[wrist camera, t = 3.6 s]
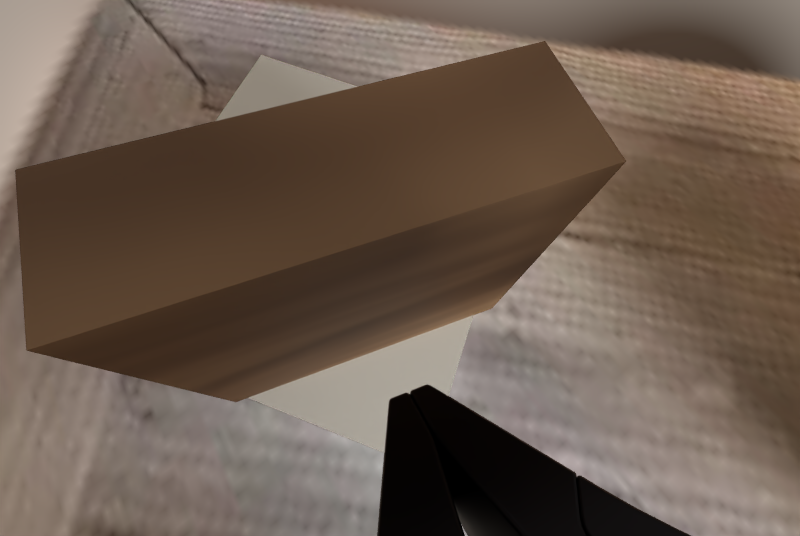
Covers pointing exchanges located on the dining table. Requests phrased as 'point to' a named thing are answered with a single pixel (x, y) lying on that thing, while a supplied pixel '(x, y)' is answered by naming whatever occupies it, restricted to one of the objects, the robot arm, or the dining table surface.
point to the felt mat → (369, 374)
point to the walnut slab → (307, 225)
